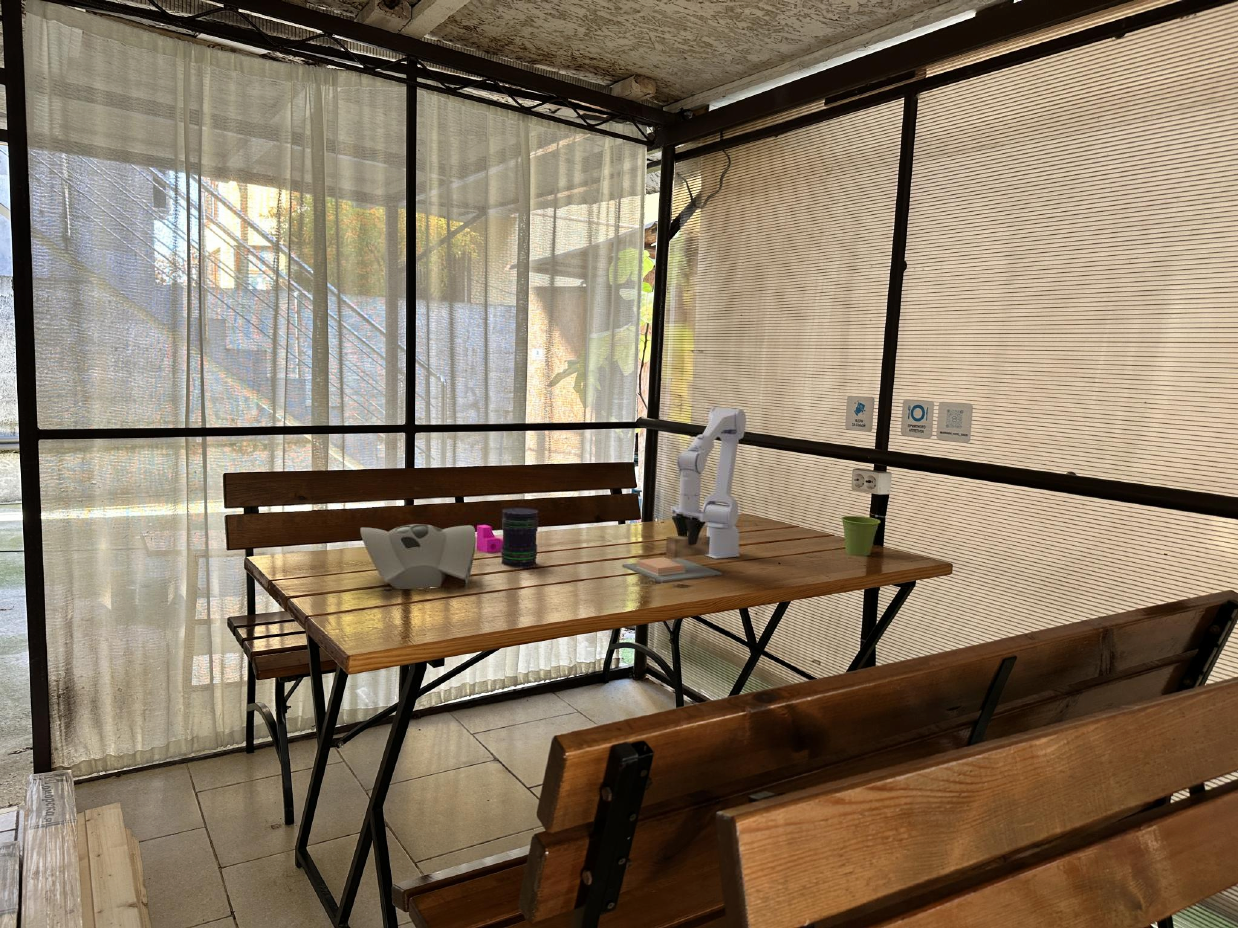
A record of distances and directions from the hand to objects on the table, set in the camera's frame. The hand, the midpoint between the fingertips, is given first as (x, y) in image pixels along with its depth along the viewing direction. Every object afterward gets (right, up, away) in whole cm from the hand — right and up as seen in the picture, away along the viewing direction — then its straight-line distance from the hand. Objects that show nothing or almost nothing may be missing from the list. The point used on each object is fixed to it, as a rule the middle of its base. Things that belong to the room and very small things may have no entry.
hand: (687, 542), depth 238 cm
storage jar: (-47, -6, -1) cm, 47 cm away
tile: (-4, -6, -2) cm, 7 cm away
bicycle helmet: (-70, -9, -22) cm, 74 cm away
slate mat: (-5, -8, -2) cm, 9 cm away
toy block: (-53, -4, +16) cm, 56 cm away
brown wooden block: (0, -3, +1) cm, 3 cm away
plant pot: (+55, -7, +29) cm, 63 cm away
